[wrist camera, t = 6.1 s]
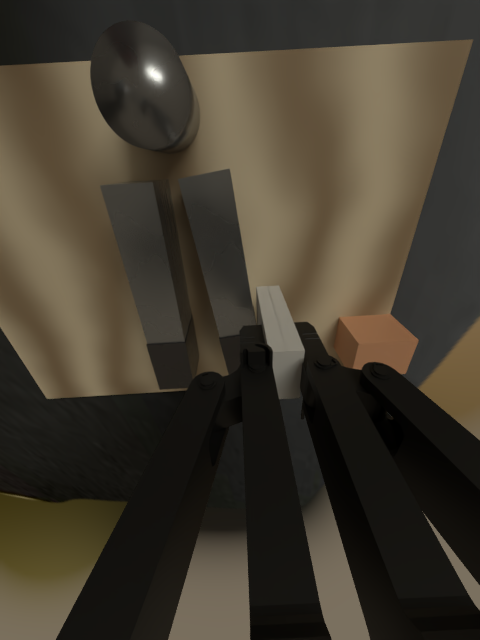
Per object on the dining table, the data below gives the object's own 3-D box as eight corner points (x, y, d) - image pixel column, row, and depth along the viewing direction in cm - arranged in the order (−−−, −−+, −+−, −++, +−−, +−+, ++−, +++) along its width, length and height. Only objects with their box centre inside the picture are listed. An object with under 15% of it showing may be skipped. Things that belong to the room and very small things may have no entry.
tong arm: (187, 176, 14) (176, 179, 11) (230, 168, 14) (230, 168, 11) (230, 352, 21) (231, 383, 18) (260, 347, 21) (265, 378, 18)
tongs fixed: (96, 66, 12) (43, 25, 8) (194, 61, 12) (180, 17, 8) (169, 357, 21) (158, 394, 18) (224, 354, 21) (224, 389, 18)
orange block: (333, 347, 21) (350, 376, 18) (339, 317, 20) (358, 343, 17) (380, 344, 21) (405, 373, 18) (389, 313, 20) (418, 340, 17)
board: (54, 389, 24) (47, 398, 23) (-133, 82, 13) (-165, 75, 12) (364, 370, 24) (370, 379, 23) (453, 49, 13) (472, 39, 12)
